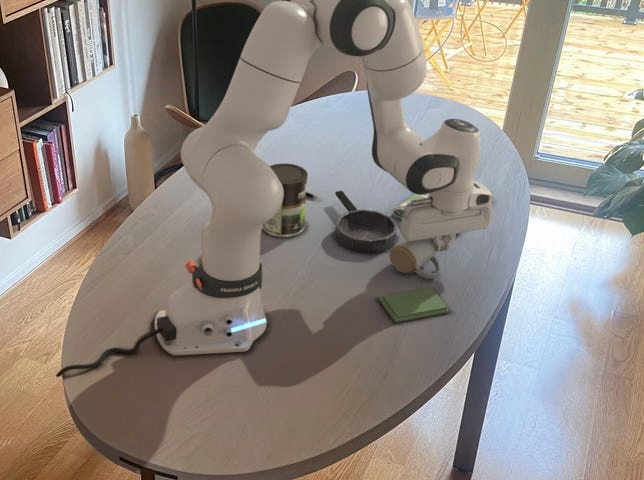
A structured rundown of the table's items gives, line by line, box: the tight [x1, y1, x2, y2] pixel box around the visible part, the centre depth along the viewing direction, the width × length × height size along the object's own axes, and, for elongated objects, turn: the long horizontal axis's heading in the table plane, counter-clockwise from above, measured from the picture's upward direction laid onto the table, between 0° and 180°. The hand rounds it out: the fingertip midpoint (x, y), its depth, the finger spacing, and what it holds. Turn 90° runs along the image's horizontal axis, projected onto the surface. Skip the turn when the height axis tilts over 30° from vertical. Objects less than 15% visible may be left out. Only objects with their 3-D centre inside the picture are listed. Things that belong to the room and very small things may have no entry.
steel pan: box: [334, 190, 398, 254], centre depth 195 cm, size 14×24×3 cm, turn 17°
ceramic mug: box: [389, 236, 441, 279], centre depth 179 cm, size 11×8×8 cm
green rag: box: [379, 287, 450, 323], centre depth 171 cm, size 12×8×1 cm, turn 107°
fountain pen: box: [306, 191, 319, 199], centre depth 209 cm, size 14×1×2 cm, turn 56°
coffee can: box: [262, 163, 309, 238], centre depth 192 cm, size 10×10×14 cm
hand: (441, 249), depth 181 cm, fingers closed
